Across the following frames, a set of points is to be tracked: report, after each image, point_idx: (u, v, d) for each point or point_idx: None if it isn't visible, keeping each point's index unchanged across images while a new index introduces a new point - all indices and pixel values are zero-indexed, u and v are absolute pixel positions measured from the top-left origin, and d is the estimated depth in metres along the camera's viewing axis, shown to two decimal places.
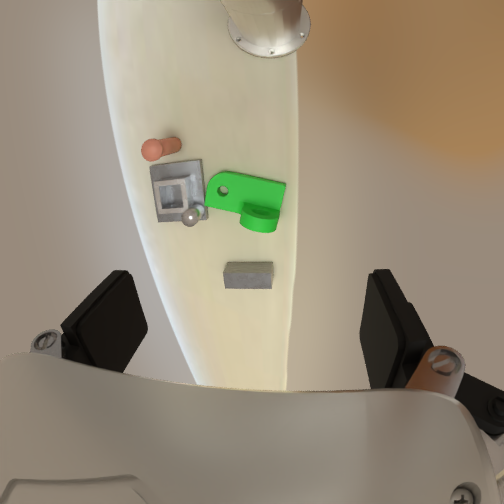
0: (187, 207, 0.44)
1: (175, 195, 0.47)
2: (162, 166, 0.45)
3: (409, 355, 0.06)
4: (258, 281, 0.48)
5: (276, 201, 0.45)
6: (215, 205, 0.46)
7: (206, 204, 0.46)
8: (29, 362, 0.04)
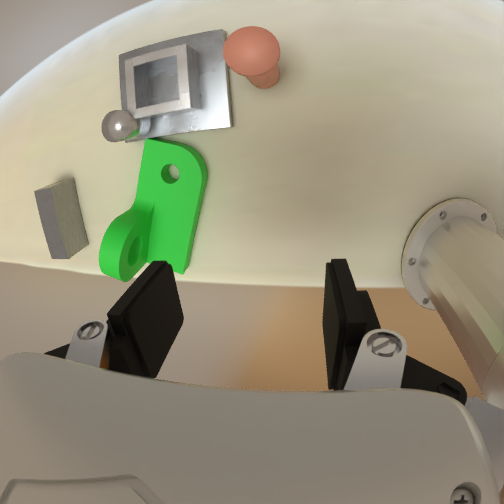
0: (136, 116, 0.20)
1: (164, 82, 0.21)
2: (220, 54, 0.19)
3: (351, 336, 0.07)
4: (53, 241, 0.26)
5: (158, 258, 0.28)
6: (146, 158, 0.24)
7: (147, 143, 0.23)
8: (29, 362, 0.04)
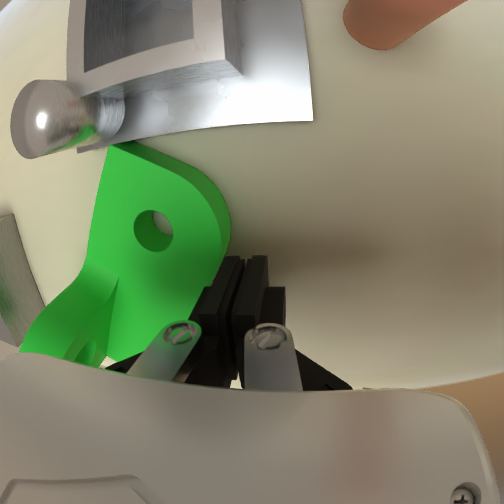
0: (84, 91, 0.07)
1: (157, 21, 0.08)
2: None
3: (243, 329, 0.08)
4: None
5: (125, 358, 0.15)
6: (106, 188, 0.11)
7: (112, 155, 0.10)
8: (29, 362, 0.04)
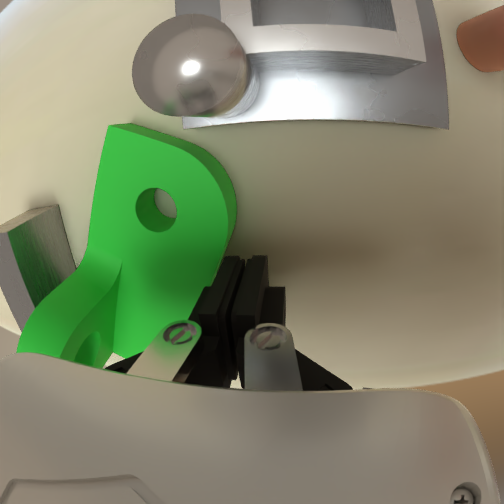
0: (254, 47, 0.06)
1: None
2: None
3: (244, 329, 0.08)
4: None
5: (133, 353, 0.14)
6: (106, 170, 0.10)
7: (111, 135, 0.10)
8: (29, 362, 0.04)
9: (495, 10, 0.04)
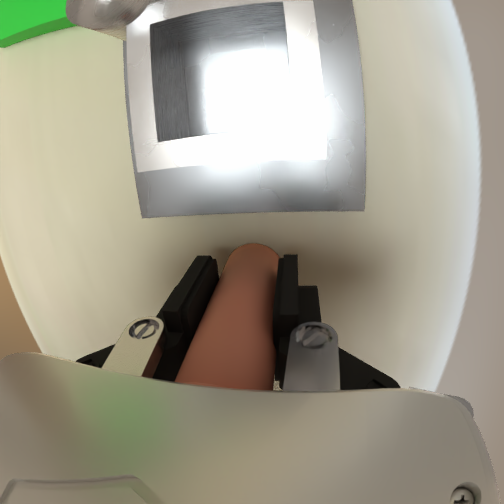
0: (130, 30, 0.06)
1: (246, 68, 0.09)
2: (300, 203, 0.11)
3: (285, 328, 0.08)
4: None
5: (2, 6, 0.06)
6: None
7: None
8: (29, 362, 0.04)
9: (264, 285, 0.10)
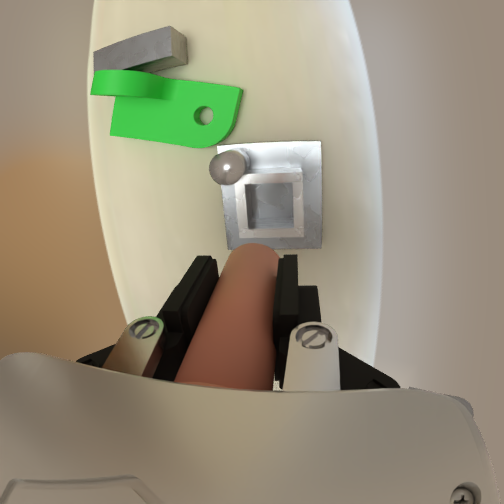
0: (236, 184, 0.23)
1: (276, 192, 0.25)
2: (295, 245, 0.27)
3: (285, 328, 0.08)
4: (111, 56, 0.19)
5: (120, 109, 0.23)
6: (218, 88, 0.22)
7: (235, 90, 0.22)
8: (29, 362, 0.04)
9: (264, 285, 0.10)
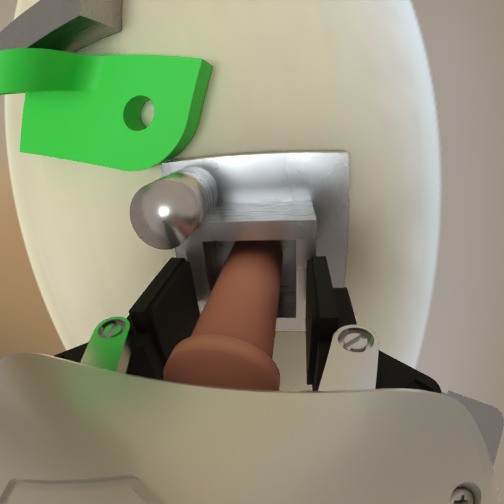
0: (187, 241, 0.12)
1: None
2: None
3: (324, 332, 0.07)
4: (11, 37, 0.08)
5: (30, 111, 0.12)
6: (164, 63, 0.11)
7: (193, 63, 0.11)
8: (29, 362, 0.04)
9: (266, 264, 0.12)
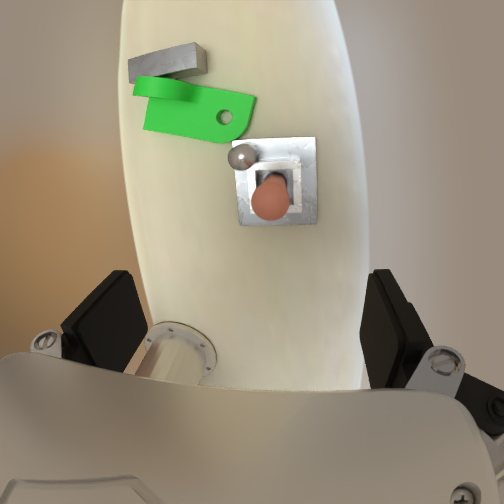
0: (248, 170, 0.29)
1: None
2: (295, 222, 0.33)
3: (409, 355, 0.06)
4: (145, 65, 0.25)
5: (153, 108, 0.29)
6: (237, 96, 0.28)
7: (250, 97, 0.27)
8: (29, 362, 0.04)
9: (281, 178, 0.28)
